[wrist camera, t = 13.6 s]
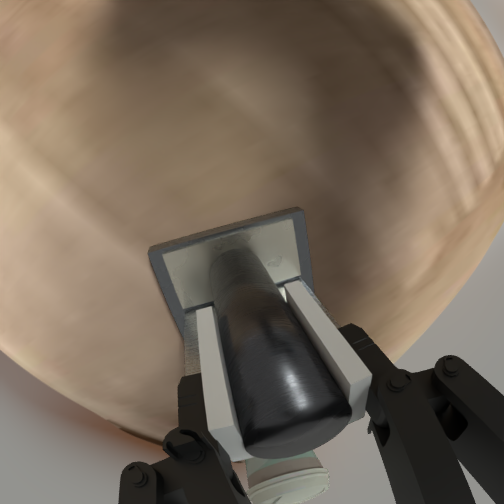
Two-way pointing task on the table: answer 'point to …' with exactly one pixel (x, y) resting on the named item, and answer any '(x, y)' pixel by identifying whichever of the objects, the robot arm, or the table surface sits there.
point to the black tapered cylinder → (272, 364)
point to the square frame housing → (213, 245)
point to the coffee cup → (286, 479)
